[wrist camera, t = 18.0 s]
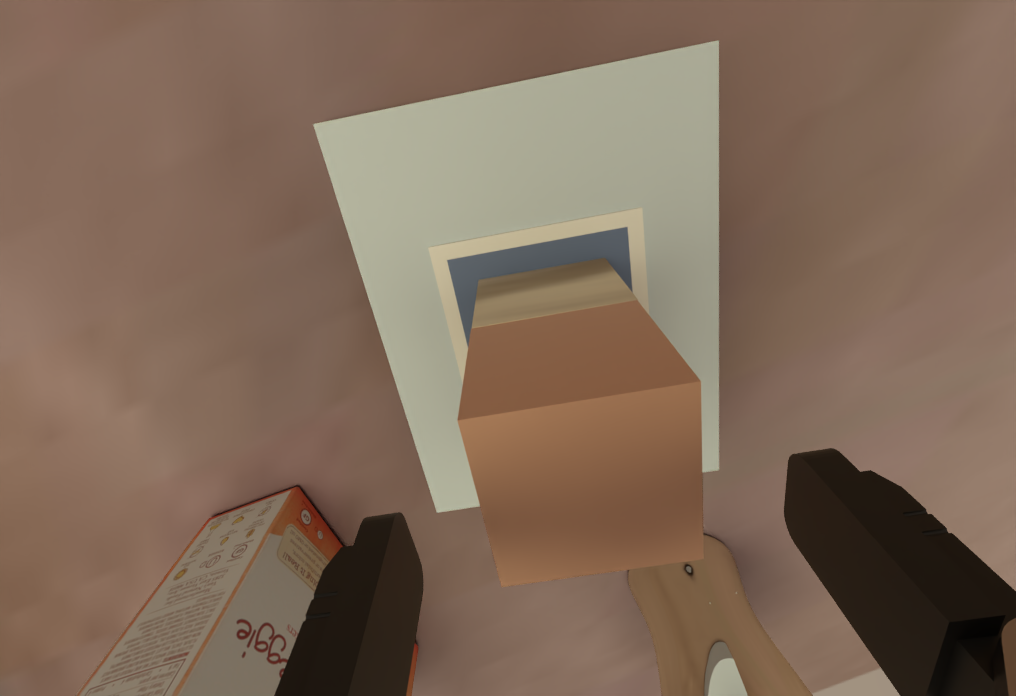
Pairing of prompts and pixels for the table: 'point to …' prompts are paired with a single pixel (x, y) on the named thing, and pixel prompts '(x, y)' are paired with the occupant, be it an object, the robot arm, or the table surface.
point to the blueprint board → (533, 219)
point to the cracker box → (226, 607)
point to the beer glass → (709, 630)
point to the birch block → (548, 292)
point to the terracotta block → (583, 444)
